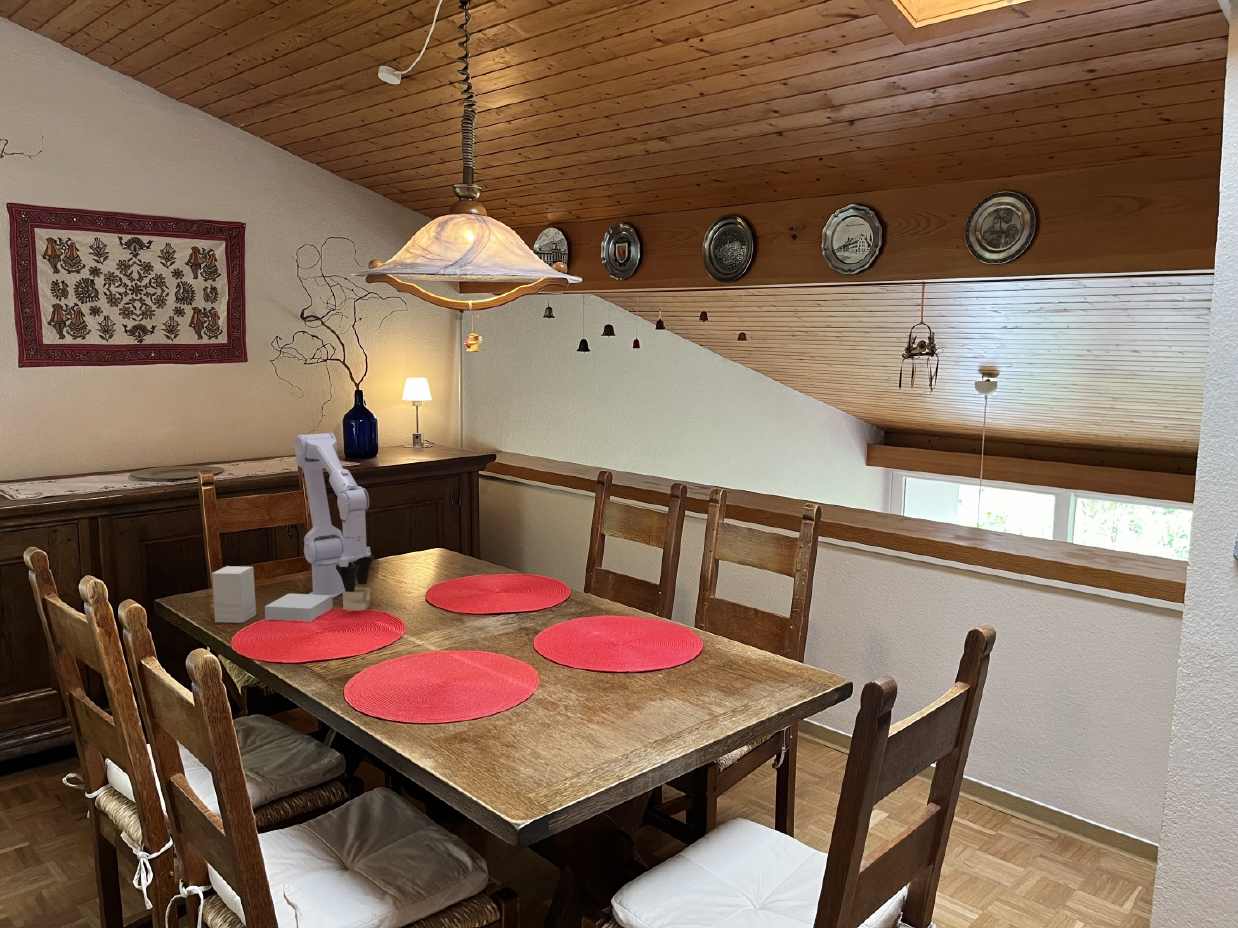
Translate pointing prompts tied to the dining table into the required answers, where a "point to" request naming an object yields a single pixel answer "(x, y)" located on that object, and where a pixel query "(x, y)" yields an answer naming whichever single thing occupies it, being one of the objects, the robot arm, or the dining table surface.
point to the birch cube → (356, 599)
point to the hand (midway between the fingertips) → (356, 587)
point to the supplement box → (234, 594)
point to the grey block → (298, 607)
